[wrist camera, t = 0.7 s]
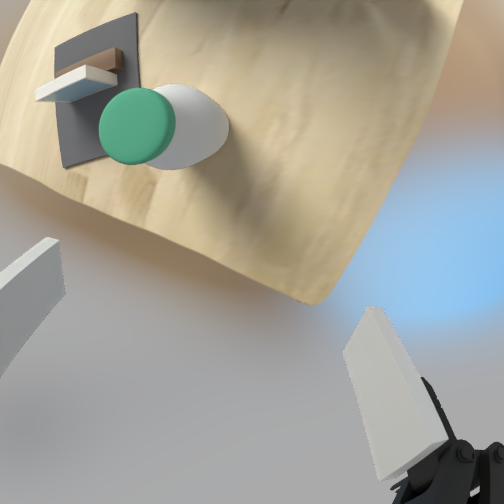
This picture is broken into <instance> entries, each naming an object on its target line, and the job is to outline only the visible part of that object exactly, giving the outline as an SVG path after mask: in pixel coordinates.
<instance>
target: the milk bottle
mask: <svg viewBox="0 0 504 504" xmlns="http://www.w3.org/2000/svg"><path fill="white" fill-rule="evenodd" d="M228 133H229V121H228V118H227V115H226V113H225V111H224V110H223V109H222V107H221V106H220V105H219V104H217V103H216V102H215V101H214V100H213V99H211V98H210V97H209V96H207V95H206V94H204V93H203V92H201V91H199V90H197V89H195V88H193V87H190V86H186V85H180V84H170V85H164V86H160V87H157V88H155V89H153V90H151V89H146V88H132V89H129V90H126V91H123V92H121V93H119V94H118V95H116V96H115V97H114V98H113V99H112V100H111V101H110V102H109V103H108V104H107V106H106V107H105V109H104V111H103V113H102V115H101V118H100V123H99V138H100V142H101V144H102V147H103V149H104V150H105V152H106V153H107V154H108V155H109V156H110V157H111V158H112V159H114V160H115V161H117V162H120V163H123V164H127V165H137V164H142V163H146V164H147V165H149V166H152V167H154V168H158V169H162V170H178V169H183V168H186V167H189V166H191V165H194V164H196V163H198V162H200V161H202V160H204V159H206V158H208V157H210V156H211V155H213V154H214V153H216V152H217V151H218V150H219V149H220V148H221V147H222V146H223V145H224V143H225V141H226V139H227V137H228Z"/></svg>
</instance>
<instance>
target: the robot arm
mask: <svg viewBox="0 0 504 504" xmlns="http://www.w3.org/2000/svg"><path fill="white" fill-rule="evenodd" d="M65 294H66V293H65V286H64V279H63V272H62V263H61V254H60V241H59V240H57V239H53V238H49V237H46V238H45V239H43V240H42V241H41V242H39V243H38V244H36V245H35V246H34V247H32V248H31V249H30V250H28V251H27V252H26V253H24V254H23V255H22V256H20V257H19V258H18V259H17V260H15V261H14V262H13V263H12V264H10V265H9V266H8V267H7V268H5V270H3V271H2V272H1V273H0V377H1V376H2V375H3V373H4V371H5V370H6V369H7V367H8V366H9V364H10V363H11V361H12V360H13V359H14V357H15V356H16V355H17V353H18V352H19V351H20V349H21V348H22V347H23V345H24V344H25V342H26V341H27V340H28V339H29V337H30V336H31V335H32V334H33V332H34V331H35V330H36V329H37V327H38V326H39V325H40V324H41V322H42V321H43V320H44V319H45V317H46V316H47V315H48V314H49V313H50V311H51V310H52V309H53V308H54V307H55V306H56V304H57V303H58V302H59V301H60V300H61V299H62V298H63V296H64V295H65ZM342 353H343V357H344V360H345V363H346V366H347V369H348V373H349V376H350V379H351V382H352V386H353V389H354V392H355V396H356V399H357V402H358V406H359V409H360V412H361V416H362V420H363V423H364V427H365V430H366V434H367V438H368V441H369V445H370V449H371V453H372V457H373V461H374V465H375V469H376V473H377V477H378V481H379V482H380V481H384V480H388V479H393V478H396V477H398V476H400V475H401V474H403V473H404V472H405V471H407V473H408V477H406V478H404V479H403V480H401V481H400V482H398V483H396V484H395V485H393V486H392V487H391V489H390V490H394V489H396V488H397V487H399V486H400V489H398V490H397V491H396V493H397V495H396V497H395V499H394V501H393V503H392V504H504V446H503V444H501V443H499V442H494V443H493V444H491V445H490V446H489V447H488V448H486V449H485V450H474V448H473V447H472V445H471V444H470V443H468V442H467V441H465V440H462V439H461V440H457V439H456V437H455V435H454V433H453V430H452V428H451V426H450V424H449V422H448V419H447V417H446V415H445V413H444V411H443V409H442V408H441V404H440V402H439V400H438V399H437V396H436V394H435V392H434V390H433V388H432V386H431V385H430V384H429V383H428V382H427V381H426V380H425V379H424V378H423V377H420V376H419V374H418V372H417V370H416V368H415V366H414V364H413V362H412V360H411V358H410V356H409V354H408V353H407V351H406V349H405V347H404V345H403V343H402V342H401V340H400V338H399V336H398V335H397V333H396V331H395V329H394V327H393V326H392V324H391V322H390V320H389V319H388V317H387V316H386V314H385V312H384V311H383V309H382V308H378V307H372V306H367V308H366V310H365V312H364V314H363V316H362V318H361V320H360V322H359V323H358V325H357V327H356V329H355V331H354V333H353V335H352V336H351V338H350V340H349V342H348V343H347V345H346V347H345V349H344V350H343V352H342ZM478 486H480V492H479V493H477V494H476V495H474V496H472V497H471V496H470V491H472V490H474V489H475V488H477V487H478Z"/></svg>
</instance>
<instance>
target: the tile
mask: <svg viewBox="0 0 504 504" xmlns="http://www.w3.org/2000/svg"><path fill="white" fill-rule="evenodd" d="M116 85H118V81H117V74H114V73H111V72H108V71H105V70H102V69H99V68H96V67H92V66H89V65H86V64H85V65H83V66H81V67H79V68H76V69H74V70H72V71H70V72H68V73H66V74H64V75H62V76H60V77H58V78H56V79H54V80H52V81H50V82H48V83H46V84H44V85H42V86H41V87H39V88H37V89H35V102H69V103H71V102H73V101H76V100H78V99H81V98H83V97H86V96H88V95H91V94H94V93H96V92H99V91H102V90H105V89H107V88H110V87H113V86H116Z"/></svg>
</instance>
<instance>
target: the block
mask: <svg viewBox="0 0 504 504" xmlns="http://www.w3.org/2000/svg"><path fill="white" fill-rule="evenodd" d="M85 64H86V65H89V66H92V67H96V68H99V69H102V70H105V71H108V72H111V73H117V72H120V71H123V70H124V69H123V51H122V50H120V49H118V48H116V47H114V48H111V49H108V50H106V51H103V52H100V53H98V54H96V55H93V56H91V57H88V58H86V59H84V60H82V61H79V62H77V63H75V64H73V65H71V66H69V67H67V68H64V69H62V70H60V71H59V72H57V73H55V79H56V78H58V77H60V76H62V75H64V74H66V73H68V72H70V71H72V70H74V69H76V68H79V67H81V66H83V65H85Z"/></svg>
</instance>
